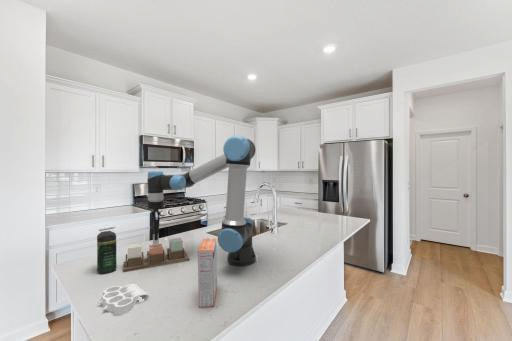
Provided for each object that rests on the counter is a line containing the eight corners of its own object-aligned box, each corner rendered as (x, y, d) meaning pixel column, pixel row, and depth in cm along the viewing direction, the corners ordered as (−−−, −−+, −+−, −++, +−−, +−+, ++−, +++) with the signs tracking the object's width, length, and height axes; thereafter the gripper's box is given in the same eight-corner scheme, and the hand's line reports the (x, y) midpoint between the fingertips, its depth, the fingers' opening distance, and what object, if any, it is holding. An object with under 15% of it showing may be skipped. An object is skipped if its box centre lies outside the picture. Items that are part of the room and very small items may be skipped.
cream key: (141, 258, 120) (141, 246, 120) (127, 260, 117) (127, 248, 117) (141, 254, 125) (140, 243, 125) (128, 256, 122) (127, 244, 122)
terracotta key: (162, 258, 124) (162, 247, 124) (150, 260, 122) (150, 248, 121) (161, 254, 130) (161, 243, 130) (149, 256, 127) (149, 245, 127)
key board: (189, 260, 129) (189, 250, 128) (123, 272, 114) (122, 260, 114) (185, 254, 137) (185, 244, 137) (123, 264, 123) (123, 253, 123)
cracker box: (202, 288, 100) (202, 238, 99) (217, 287, 100) (217, 237, 100) (197, 308, 86) (197, 250, 85) (214, 307, 86) (214, 249, 86)
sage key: (182, 251, 129) (182, 240, 129) (170, 253, 126) (170, 242, 126) (180, 248, 134) (180, 237, 134) (169, 250, 131) (169, 239, 131)
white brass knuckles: (152, 303, 89) (107, 322, 79) (133, 287, 101) (92, 301, 91) (152, 294, 89) (107, 312, 78) (133, 279, 101) (92, 292, 91)
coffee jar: (118, 271, 116) (117, 232, 115) (98, 275, 111) (97, 235, 110) (114, 264, 123) (114, 228, 123) (96, 268, 118) (95, 231, 118)
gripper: (147, 199, 129) (147, 243, 130) (148, 202, 118) (148, 250, 118) (161, 198, 133) (162, 241, 133) (164, 201, 121) (165, 248, 121)
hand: (155, 245), depth 126 cm, fingers closed
